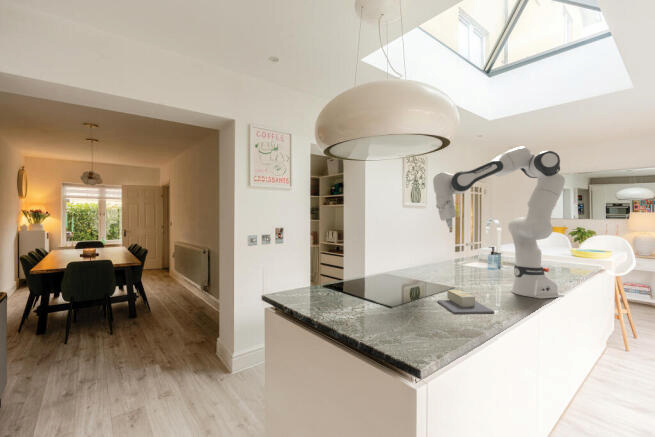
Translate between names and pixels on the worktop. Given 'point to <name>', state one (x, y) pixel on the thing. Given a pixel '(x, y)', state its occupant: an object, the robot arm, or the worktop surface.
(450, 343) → the worktop surface
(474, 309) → the mat
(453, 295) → the skincare box
